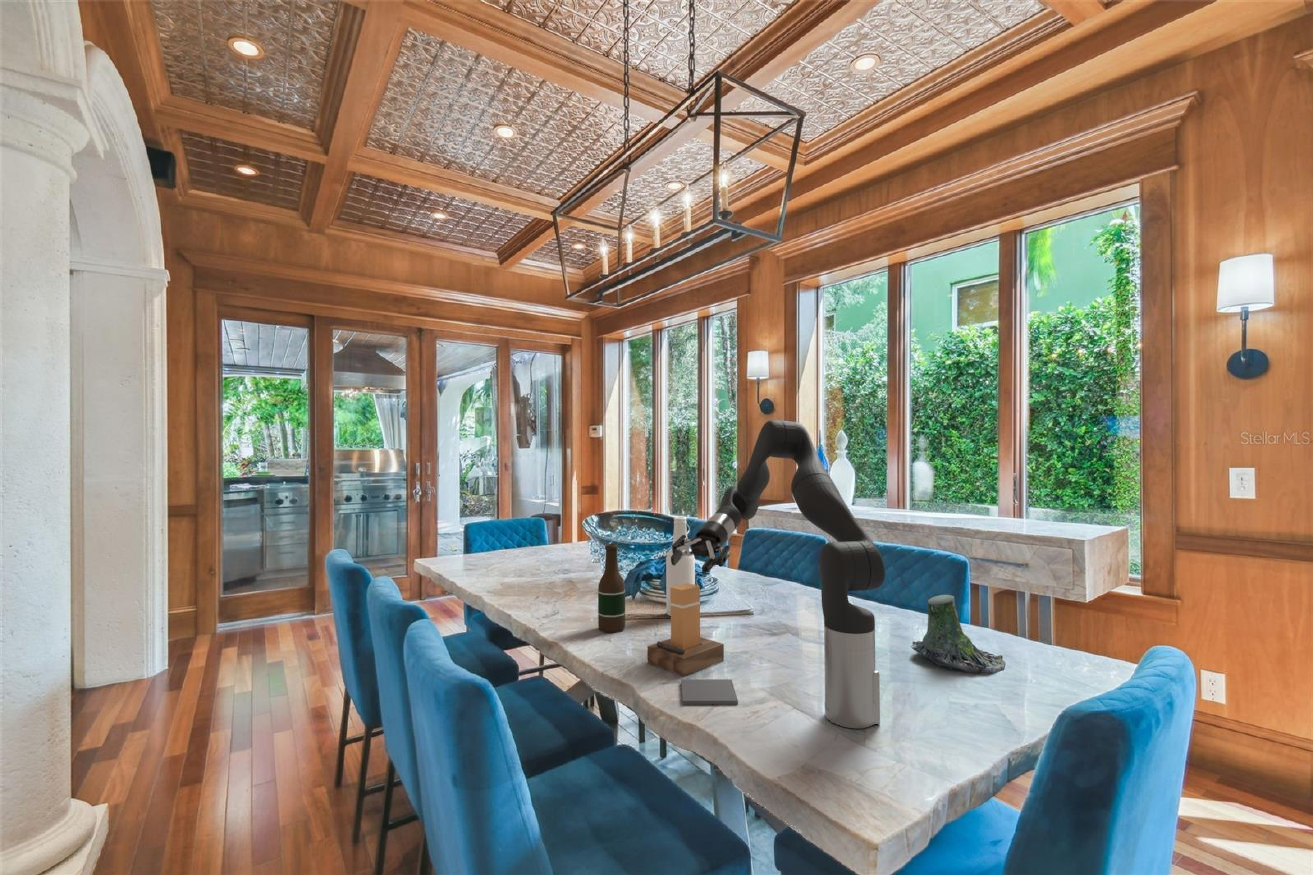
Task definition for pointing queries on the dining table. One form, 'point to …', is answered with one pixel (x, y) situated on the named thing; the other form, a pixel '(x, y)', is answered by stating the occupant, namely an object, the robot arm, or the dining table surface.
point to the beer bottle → (611, 595)
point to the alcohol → (679, 564)
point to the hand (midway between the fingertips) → (687, 566)
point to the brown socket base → (685, 656)
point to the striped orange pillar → (685, 616)
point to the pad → (708, 692)
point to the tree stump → (953, 641)
